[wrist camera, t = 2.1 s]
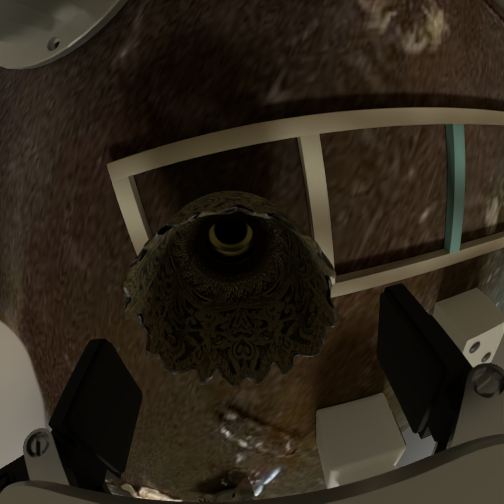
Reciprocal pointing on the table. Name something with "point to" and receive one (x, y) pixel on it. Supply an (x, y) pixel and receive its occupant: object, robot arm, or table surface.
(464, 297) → the die
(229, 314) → the dark patterned vase
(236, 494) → the decorative bird
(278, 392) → the table surface
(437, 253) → the ladder
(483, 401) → the robot arm
